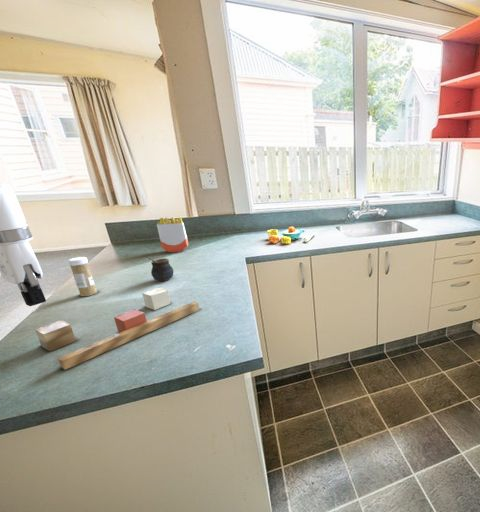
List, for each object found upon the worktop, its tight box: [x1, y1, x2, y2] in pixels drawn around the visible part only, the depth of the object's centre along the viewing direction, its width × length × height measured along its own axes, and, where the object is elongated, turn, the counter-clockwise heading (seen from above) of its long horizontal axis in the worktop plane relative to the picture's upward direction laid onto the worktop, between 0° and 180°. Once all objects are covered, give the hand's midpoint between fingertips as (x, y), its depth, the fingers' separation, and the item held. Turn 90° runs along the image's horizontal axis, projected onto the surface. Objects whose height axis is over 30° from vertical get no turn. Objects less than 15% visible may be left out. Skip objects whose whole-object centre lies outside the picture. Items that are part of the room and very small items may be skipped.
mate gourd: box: [146, 256, 174, 282], centre depth 117 cm, size 7×8×10 cm
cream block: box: [141, 287, 172, 311], centre depth 97 cm, size 5×5×5 cm
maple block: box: [34, 320, 77, 352], centre depth 77 cm, size 5×5×5 cm
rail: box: [57, 301, 200, 371], centre depth 82 cm, size 32×2×2 cm, turn 155°
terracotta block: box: [113, 309, 148, 333], centre depth 83 cm, size 5×5×5 cm
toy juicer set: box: [266, 226, 316, 245], centre depth 177 cm, size 29×18×8 cm, turn 105°
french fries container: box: [156, 216, 189, 253], centre depth 153 cm, size 5×11×18 cm, turn 114°
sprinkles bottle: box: [67, 256, 98, 297], centre depth 103 cm, size 5×5×13 cm
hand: (36, 303), depth 78 cm, fingers closed
